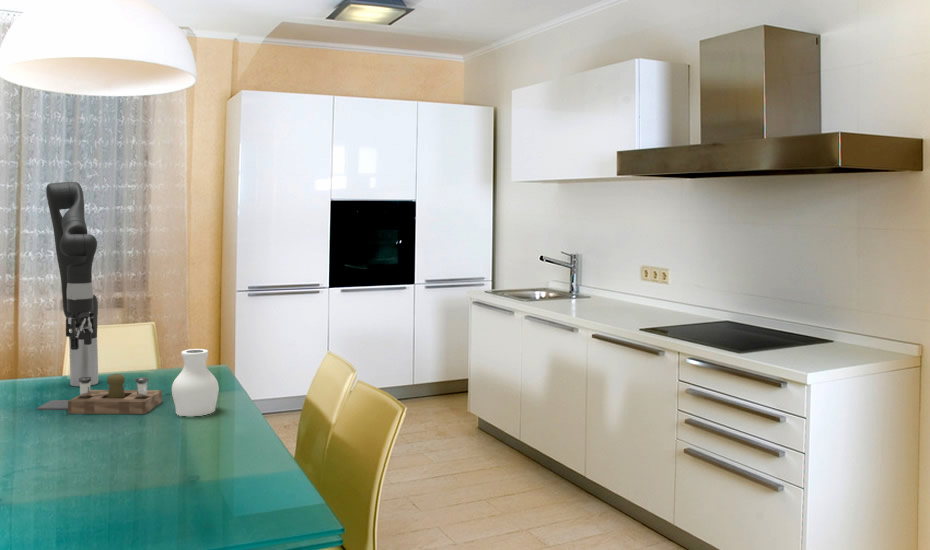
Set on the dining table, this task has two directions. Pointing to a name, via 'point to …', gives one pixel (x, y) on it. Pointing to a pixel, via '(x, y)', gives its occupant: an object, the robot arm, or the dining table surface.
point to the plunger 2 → (141, 387)
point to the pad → (55, 405)
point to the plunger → (85, 387)
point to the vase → (195, 385)
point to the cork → (116, 386)
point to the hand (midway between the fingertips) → (81, 346)
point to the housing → (115, 403)
